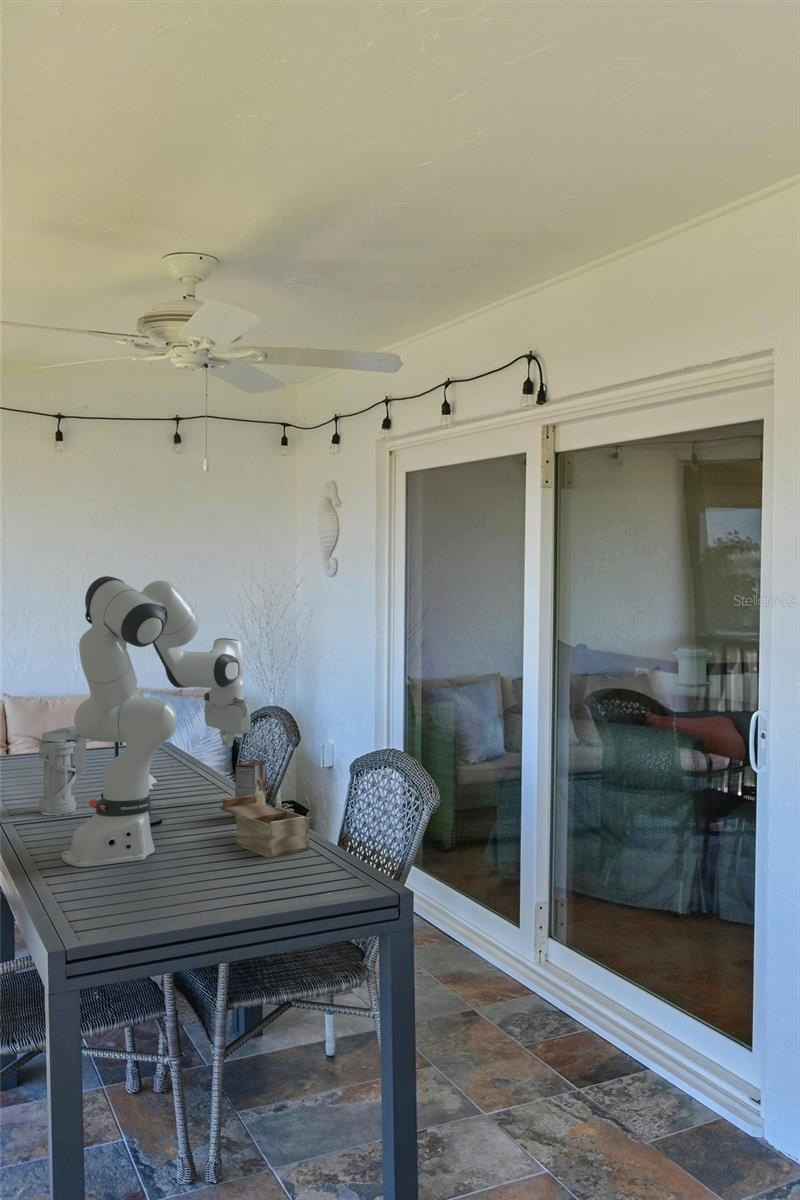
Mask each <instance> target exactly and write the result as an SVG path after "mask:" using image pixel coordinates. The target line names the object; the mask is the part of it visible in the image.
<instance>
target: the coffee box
mask: <svg viewBox="0 0 800 1200" xmlns="http://www.w3.org/2000/svg"><path fill="white" fill-rule="evenodd" d="M266 761H267V760H264V759H263V760H262V759H260V760H259V759H258V760H257V759H244V760H243V761H241V762H239V763H237V764H235V766H234V776H235V777H234V781H235V782H234V783H235V784H234V790H235V791H234V792H235V793H234V797H239V796H246V795H254V796H256V802H257V803H260V804H263V805H266V801H267V799H266V795H267V793H266V792H267V791H266V784H267V782H266V771H267V770H266V764H267V763H266ZM266 806H267V805H266ZM234 816H235V817H234V818H235V821H237V816H236V815H234Z"/></svg>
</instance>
